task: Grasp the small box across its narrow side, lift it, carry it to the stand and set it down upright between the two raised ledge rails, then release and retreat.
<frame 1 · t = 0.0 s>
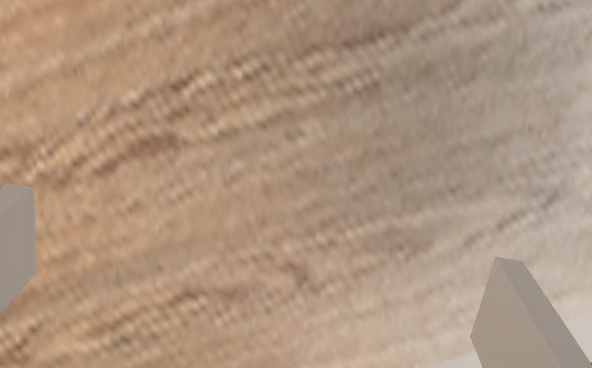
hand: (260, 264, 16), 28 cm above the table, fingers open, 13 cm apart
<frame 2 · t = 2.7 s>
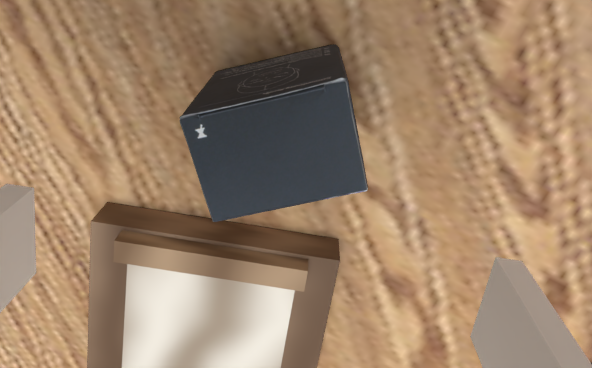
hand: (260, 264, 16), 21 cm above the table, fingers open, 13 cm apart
stand: (212, 305, 42), on the table
box: (286, 99, 36), on the table
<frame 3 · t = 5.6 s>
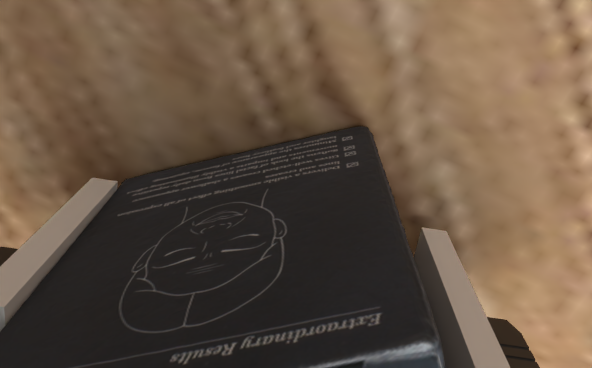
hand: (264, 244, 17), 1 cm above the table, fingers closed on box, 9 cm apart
box: (268, 226, 18), on the table, touching gripper
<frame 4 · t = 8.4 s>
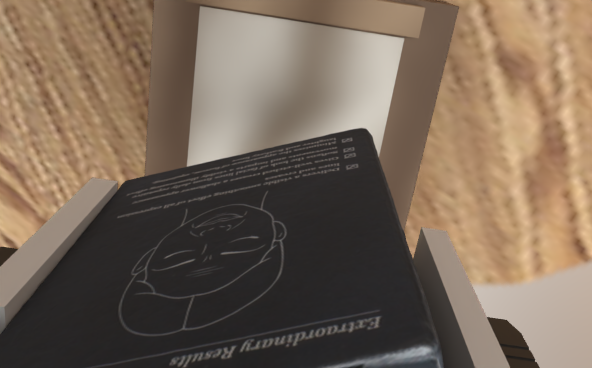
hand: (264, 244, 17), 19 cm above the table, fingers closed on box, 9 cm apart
stand: (291, 99, 35), on the table
box: (267, 228, 18), point 18 cm above the table, touching gripper
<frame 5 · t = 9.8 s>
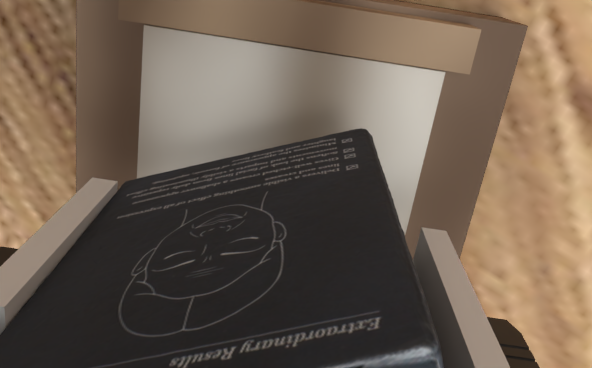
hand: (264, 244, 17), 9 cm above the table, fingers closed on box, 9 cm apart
stand: (281, 150, 25), on the table
box: (267, 228, 18), point 7 cm above the table, touching gripper
when the fingers open (6 cm above the table, at t = 11.2 s): box drops 2 cm, resting on stand.
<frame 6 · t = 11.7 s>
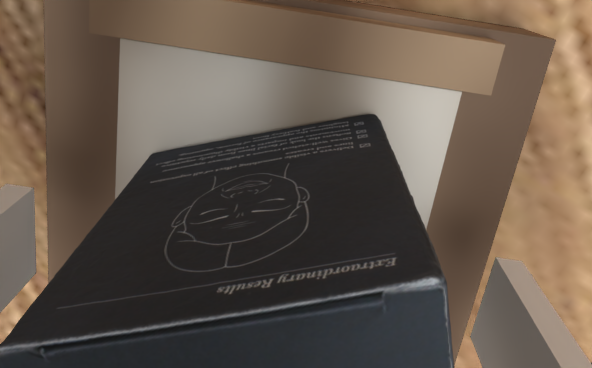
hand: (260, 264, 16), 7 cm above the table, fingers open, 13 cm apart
stand: (277, 174, 23), on the table
box: (280, 203, 20), point 3 cm above the table, touching stand
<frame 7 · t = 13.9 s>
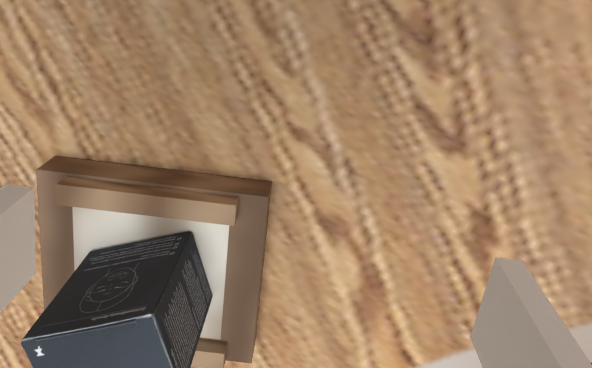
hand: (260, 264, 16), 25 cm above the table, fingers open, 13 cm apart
stand: (161, 253, 44), on the table
box: (154, 271, 41), point 3 cm above the table, touching stand
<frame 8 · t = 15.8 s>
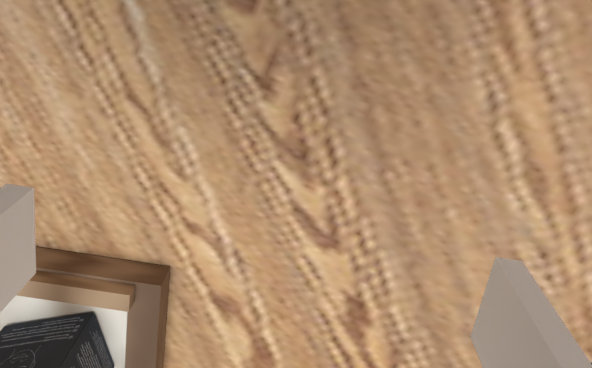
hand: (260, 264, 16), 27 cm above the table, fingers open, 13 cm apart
stand: (74, 322, 50), on the table
box: (62, 343, 47), point 3 cm above the table, touching stand
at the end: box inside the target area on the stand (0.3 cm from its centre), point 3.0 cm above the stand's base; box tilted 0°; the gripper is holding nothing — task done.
